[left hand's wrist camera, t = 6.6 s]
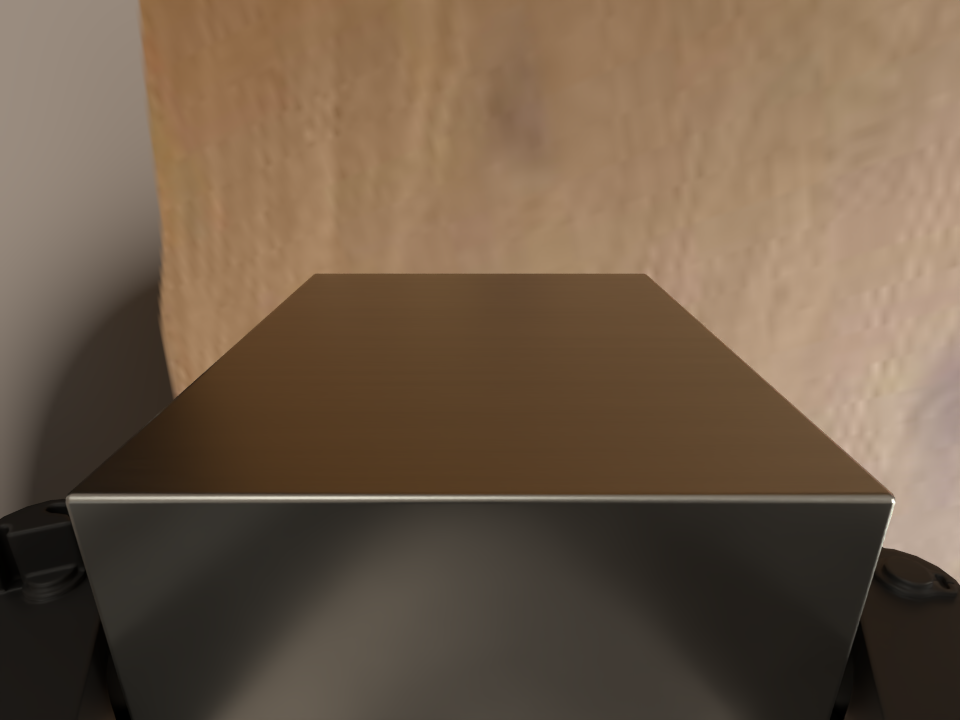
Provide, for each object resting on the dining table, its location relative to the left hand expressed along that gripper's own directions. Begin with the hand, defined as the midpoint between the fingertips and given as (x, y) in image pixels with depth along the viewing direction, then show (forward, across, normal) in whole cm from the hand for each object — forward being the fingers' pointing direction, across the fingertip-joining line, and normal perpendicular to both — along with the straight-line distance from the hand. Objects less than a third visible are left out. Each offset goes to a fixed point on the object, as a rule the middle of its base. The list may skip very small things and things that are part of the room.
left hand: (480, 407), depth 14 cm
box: (0, 0, -7) cm, 7 cm away
